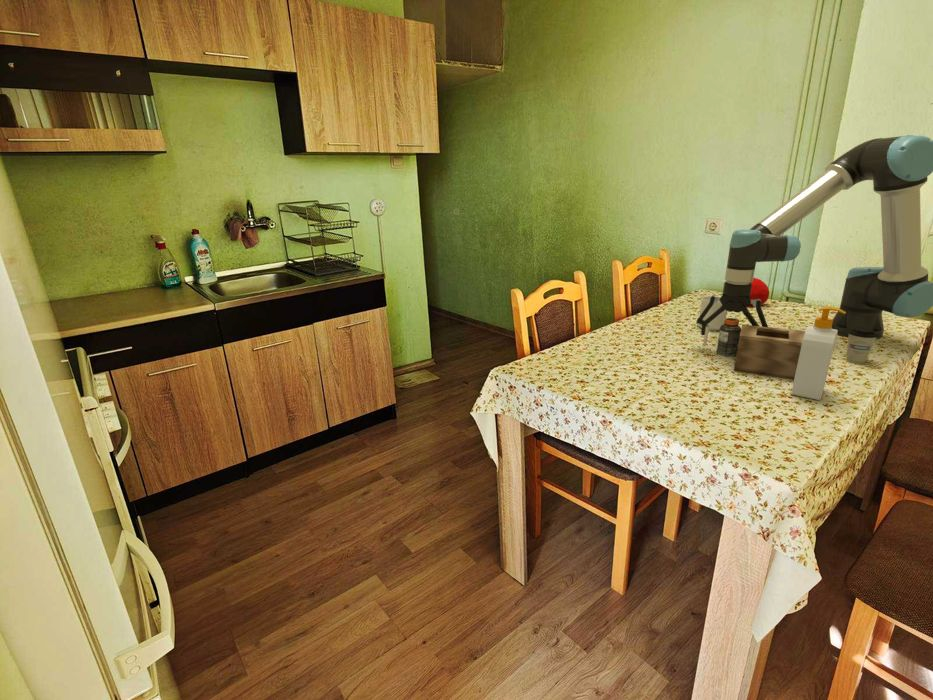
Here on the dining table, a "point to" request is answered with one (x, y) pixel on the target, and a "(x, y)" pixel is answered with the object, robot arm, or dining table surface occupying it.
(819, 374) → the soap bottle
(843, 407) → the dining table surface
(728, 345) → the pill bottle
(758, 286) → the tomato
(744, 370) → the deposit box
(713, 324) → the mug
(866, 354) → the coffee cup
